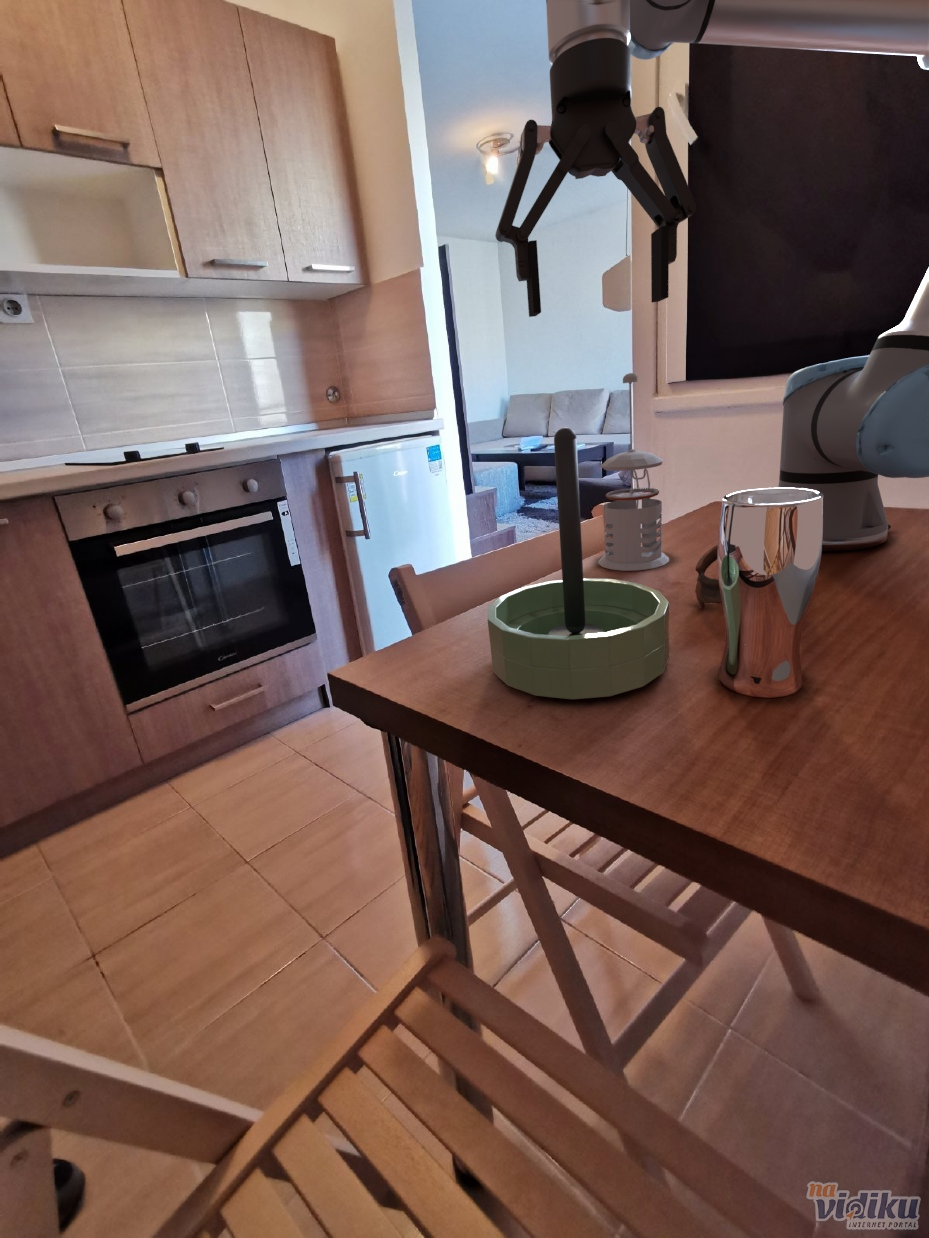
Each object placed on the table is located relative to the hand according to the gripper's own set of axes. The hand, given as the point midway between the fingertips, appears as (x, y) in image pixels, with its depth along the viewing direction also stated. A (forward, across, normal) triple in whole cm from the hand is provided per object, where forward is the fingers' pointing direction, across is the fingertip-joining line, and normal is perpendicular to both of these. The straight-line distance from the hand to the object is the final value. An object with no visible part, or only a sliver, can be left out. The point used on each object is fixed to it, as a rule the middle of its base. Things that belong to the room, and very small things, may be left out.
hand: (597, 308), depth 63 cm
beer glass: (+32, +4, -28) cm, 42 cm away
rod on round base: (+31, -9, -20) cm, 38 cm away
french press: (+32, +8, +12) cm, 35 cm away
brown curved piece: (+32, +12, -10) cm, 36 cm away
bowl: (+32, -9, -20) cm, 39 cm away
